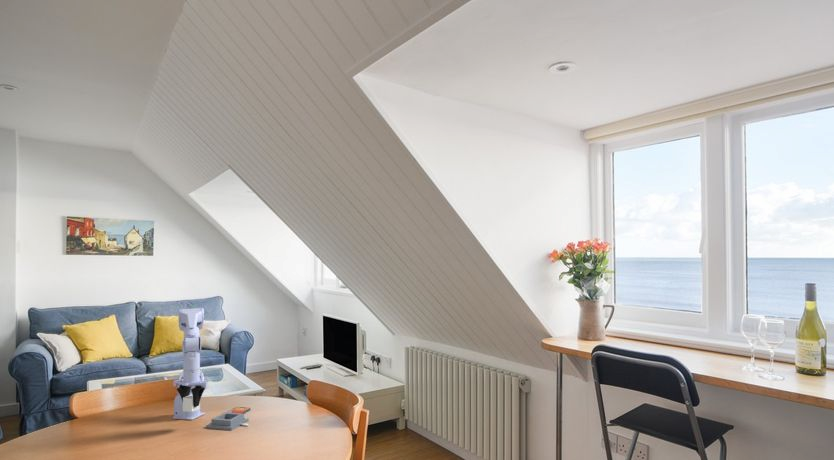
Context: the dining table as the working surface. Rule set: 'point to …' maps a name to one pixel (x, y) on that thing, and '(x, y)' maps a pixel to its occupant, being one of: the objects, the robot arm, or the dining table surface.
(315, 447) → the dining table surface
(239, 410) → the smartphone
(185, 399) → the white block
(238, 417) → the block
